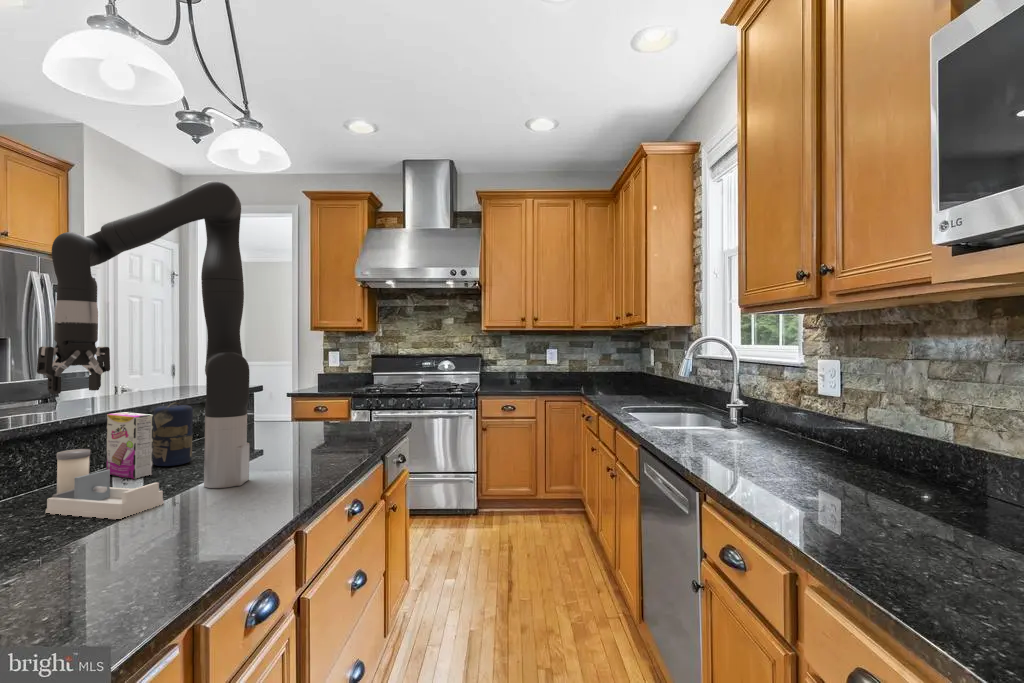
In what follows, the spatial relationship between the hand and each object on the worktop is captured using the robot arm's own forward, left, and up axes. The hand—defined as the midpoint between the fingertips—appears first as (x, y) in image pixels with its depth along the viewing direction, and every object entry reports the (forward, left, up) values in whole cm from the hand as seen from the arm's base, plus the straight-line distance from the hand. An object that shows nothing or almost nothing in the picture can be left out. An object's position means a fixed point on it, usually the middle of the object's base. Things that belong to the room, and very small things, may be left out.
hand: (75, 391), depth 113 cm
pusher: (-11, +10, -23) cm, 27 cm away
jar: (0, 0, -24) cm, 24 cm away
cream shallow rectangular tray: (-13, +11, -24) cm, 29 cm away
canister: (-7, -30, -24) cm, 39 cm away
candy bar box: (-2, -18, -24) cm, 30 cm away
